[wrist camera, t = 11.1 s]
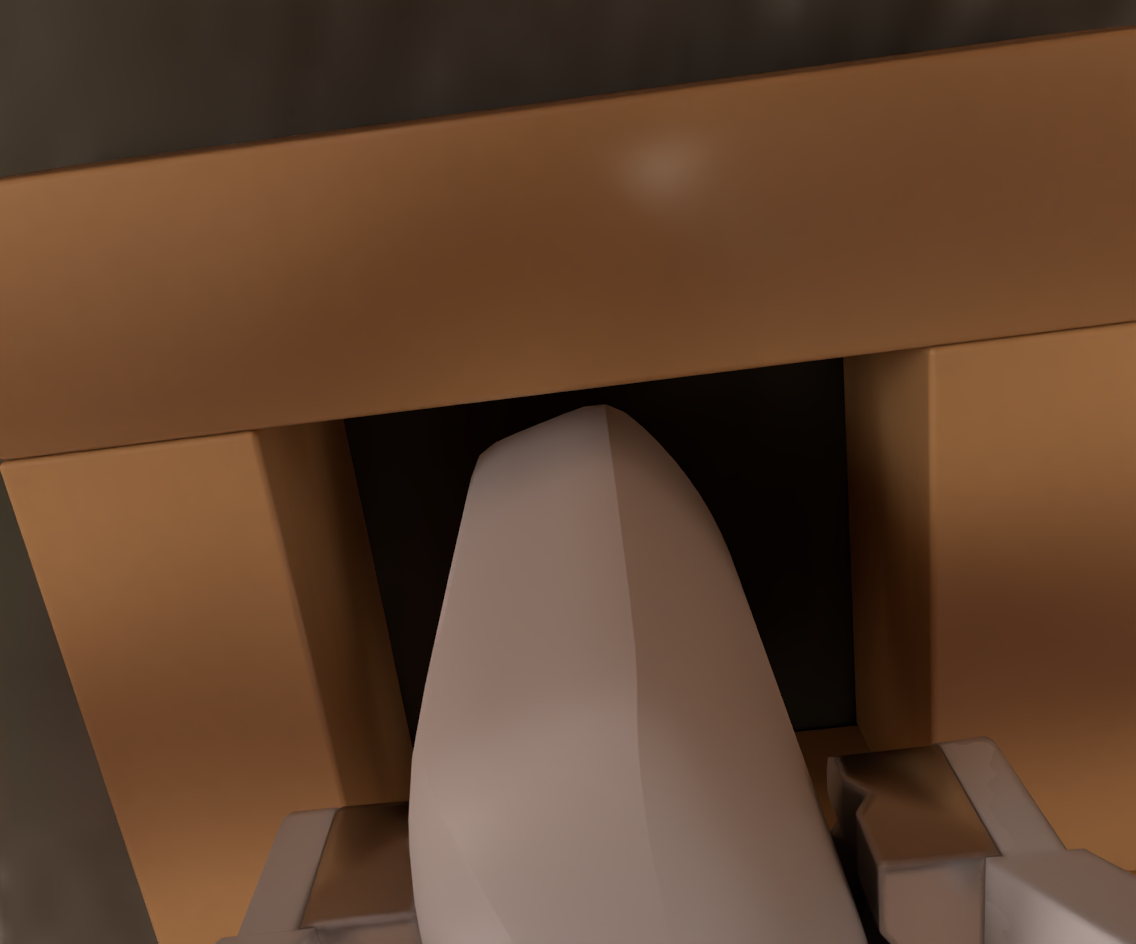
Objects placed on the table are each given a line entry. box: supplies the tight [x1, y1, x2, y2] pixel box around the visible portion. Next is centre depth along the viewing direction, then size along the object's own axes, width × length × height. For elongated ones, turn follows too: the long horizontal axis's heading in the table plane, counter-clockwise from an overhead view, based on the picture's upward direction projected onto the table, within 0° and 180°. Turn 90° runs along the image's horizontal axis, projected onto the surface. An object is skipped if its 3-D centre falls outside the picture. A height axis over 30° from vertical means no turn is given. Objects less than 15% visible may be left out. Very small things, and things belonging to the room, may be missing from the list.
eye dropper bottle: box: [408, 404, 868, 944], centre depth 10 cm, size 4×6×12 cm
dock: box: [0, 25, 1136, 944], centre depth 15 cm, size 14×14×4 cm
